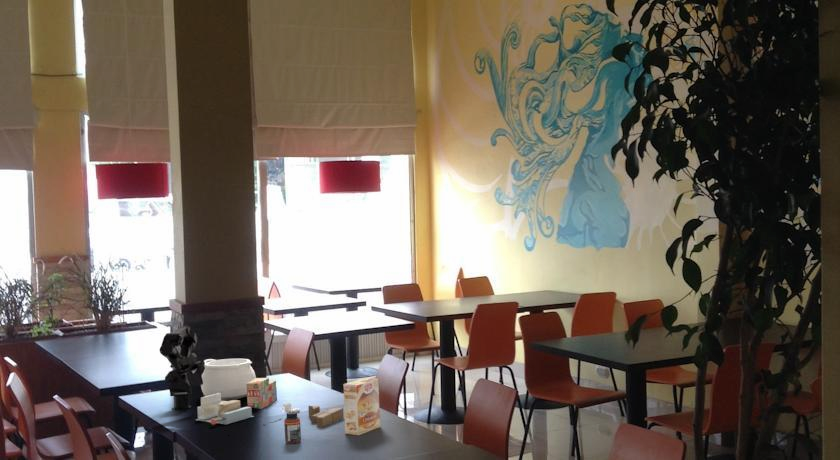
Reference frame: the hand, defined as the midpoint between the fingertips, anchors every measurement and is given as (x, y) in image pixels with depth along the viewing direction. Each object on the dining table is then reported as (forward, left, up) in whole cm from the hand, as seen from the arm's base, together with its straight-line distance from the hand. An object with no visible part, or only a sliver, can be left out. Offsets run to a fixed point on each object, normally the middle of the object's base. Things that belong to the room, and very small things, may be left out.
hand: (194, 387), depth 379 cm
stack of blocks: (+12, +29, -13) cm, 34 cm away
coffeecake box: (+86, +11, -13) cm, 87 cm away
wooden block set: (+58, +15, -13) cm, 61 cm away
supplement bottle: (+73, -15, -13) cm, 75 cm away
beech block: (+23, -1, -12) cm, 26 cm away
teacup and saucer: (+37, +21, -13) cm, 45 cm away
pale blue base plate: (+20, -4, -13) cm, 24 cm away
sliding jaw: (+13, -1, -11) cm, 17 cm away
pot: (-19, +37, -13) cm, 44 cm away
